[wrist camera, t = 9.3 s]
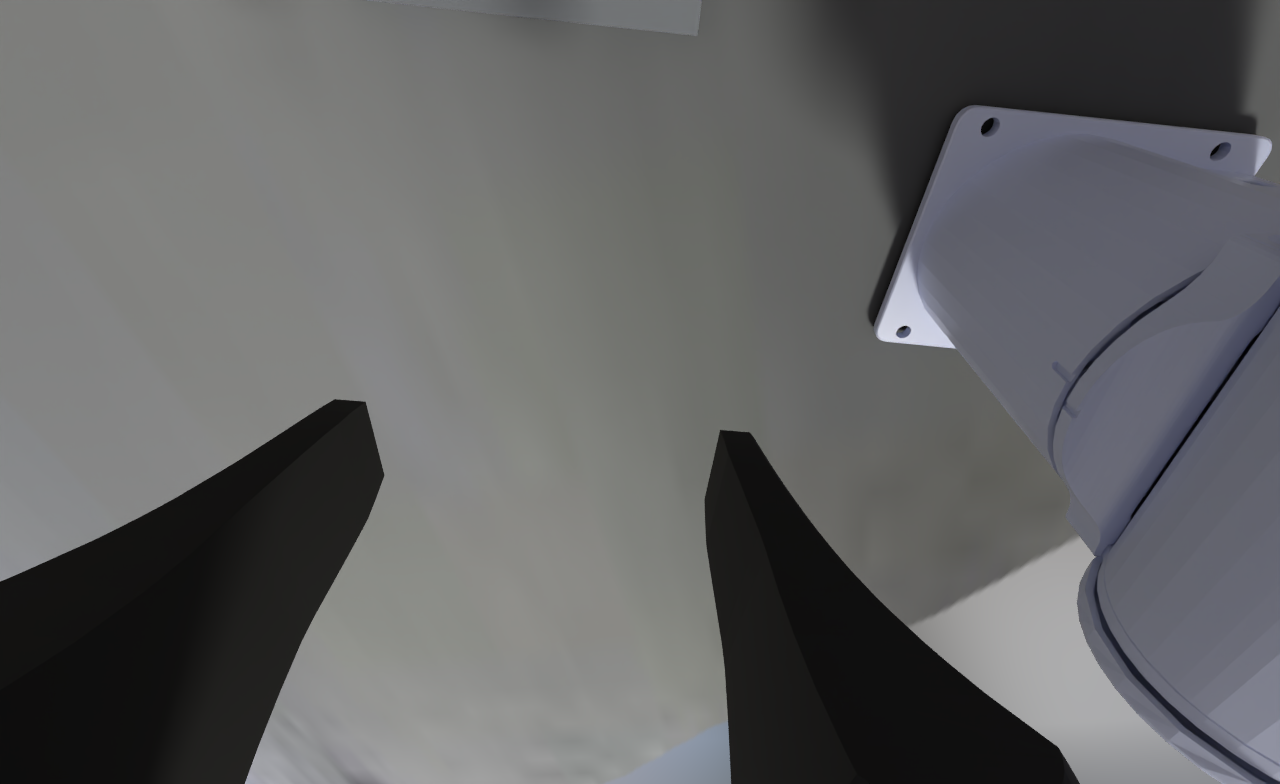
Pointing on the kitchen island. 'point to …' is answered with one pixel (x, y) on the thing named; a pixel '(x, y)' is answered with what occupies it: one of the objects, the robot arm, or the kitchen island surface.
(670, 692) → the kitchen island surface
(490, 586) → the kitchen island surface
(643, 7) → the pin tray
